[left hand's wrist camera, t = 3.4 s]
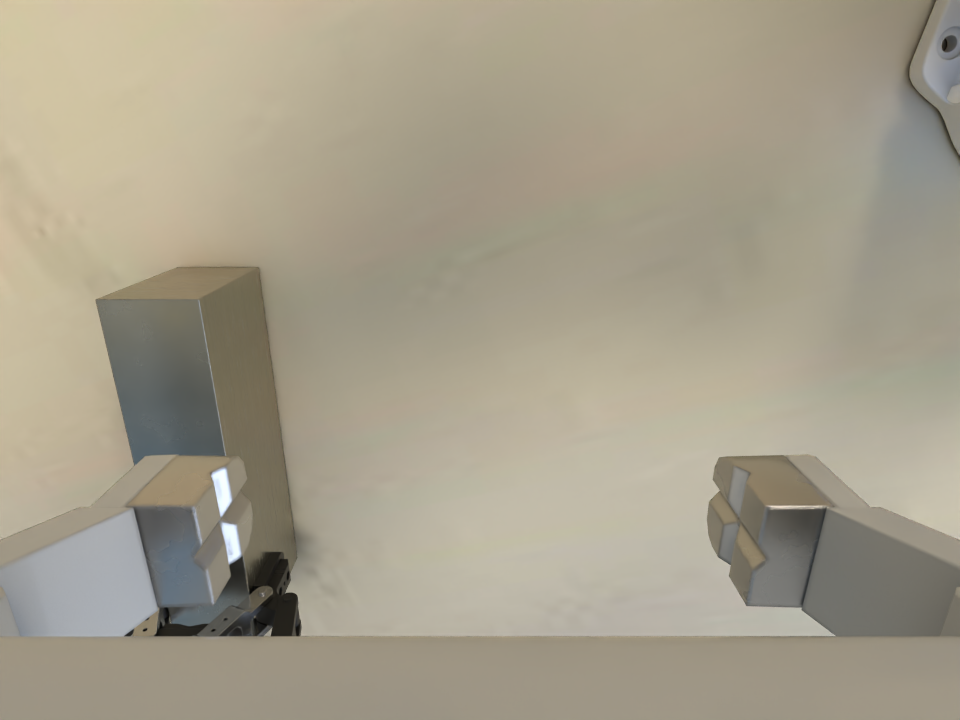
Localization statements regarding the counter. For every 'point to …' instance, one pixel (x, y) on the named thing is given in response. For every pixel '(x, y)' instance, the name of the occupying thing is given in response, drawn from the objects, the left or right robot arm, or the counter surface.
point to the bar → (204, 396)
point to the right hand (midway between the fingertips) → (237, 562)
